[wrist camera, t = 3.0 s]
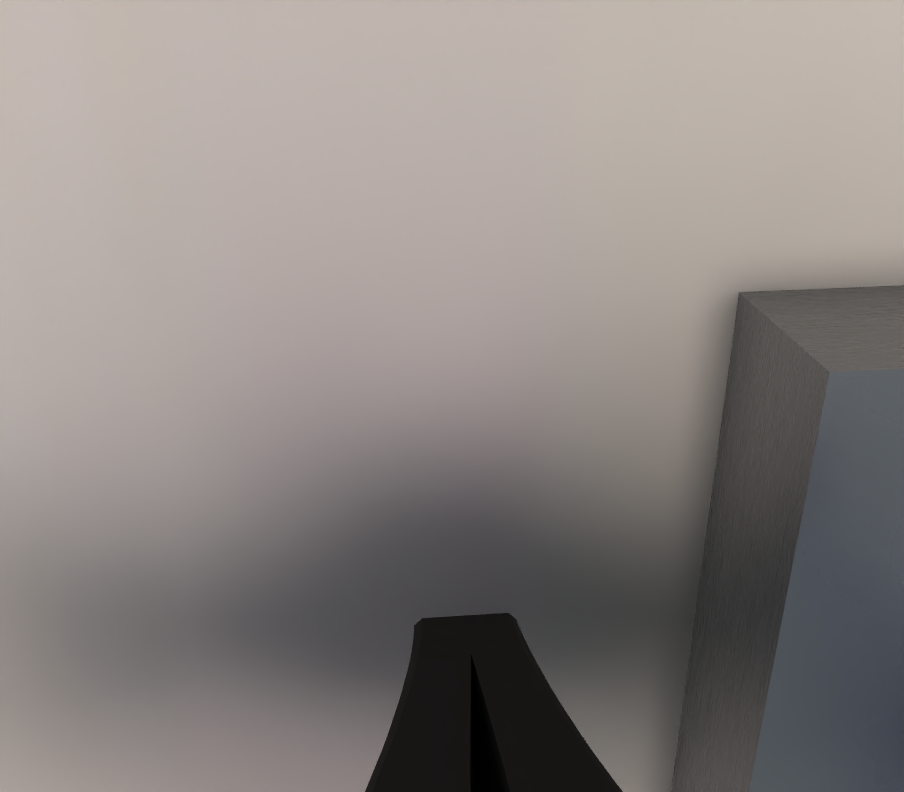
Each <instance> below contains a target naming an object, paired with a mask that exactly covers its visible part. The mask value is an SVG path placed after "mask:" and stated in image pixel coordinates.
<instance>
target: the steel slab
mask: <svg viewBox="0 0 904 792" xmlns="http://www.w3.org/2000/svg"><path fill="white" fill-rule="evenodd" d="M671 792H904V286H880V287H856V288H832V289H808V290H783V291H759V292H739V298H738V306H737V313H736V320H735V328H734V335H733V342H732V350H731V357H730V364H729V372H728V379H727V386H726V394H725V401H724V408H723V416H722V423H721V430H720V438H719V445H718V452H717V460H716V467H715V474H714V482H713V489H712V496H711V504H710V511H709V518H708V526H707V533H706V540H705V548H704V555H703V562H702V570H701V577H700V584H699V592H698V599H697V606H696V614H695V621H694V628H693V636H692V643H691V650H690V658H689V665H688V672H687V680H686V687H685V694H684V702H683V709H682V716H681V724H680V731H679V738H678V746H677V753H676V760H675V768H674V775H673V782H672V790H671Z"/></svg>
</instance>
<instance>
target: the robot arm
mask: <svg viewBox="0 0 904 792" xmlns="http://www.w3.org/2000/svg"><path fill="white" fill-rule="evenodd" d="M365 792H622V790H621V789H620V788H619V786H618V785H617V784H616V783H615V781H614V780H613V779H612V777H611V776H610V774H609V773H608V772H607V770H606V769H605V768H604V766H603V765H602V764H601V762H600V761H599V760H598V758H597V757H596V756H595V754H594V753H593V751H592V750H591V749H590V747H589V746H588V744H587V743H586V741H585V740H584V738H583V737H582V736H581V734H580V733H579V731H578V730H577V728H576V726H575V725H574V723H573V722H572V720H571V719H570V717H569V716H568V714H567V713H566V711H565V710H564V708H563V707H562V705H561V703H560V702H559V700H558V699H557V697H556V695H555V694H554V692H553V691H552V689H551V687H550V686H549V684H548V682H547V680H546V679H545V677H544V675H543V673H542V672H541V670H540V668H539V666H538V664H537V663H536V661H535V659H534V657H533V655H532V653H531V651H530V649H529V647H528V645H527V643H526V641H525V639H524V637H523V635H522V633H521V630H520V628H519V626H518V623H517V620H516V619H515V618H514V617H513V616H512V615H510V614H509V613H500V614H484V615H468V616H452V617H436V618H422V619H421V620H420V621H419V622H418V623H416V624H415V625H414V640H413V646H412V653H411V658H410V663H409V667H408V671H407V675H406V679H405V682H404V686H403V690H402V693H401V697H400V700H399V703H398V706H397V709H396V712H395V715H394V718H393V721H392V724H391V727H390V730H389V733H388V736H387V739H386V741H385V744H384V747H383V749H382V752H381V754H380V757H379V759H378V761H377V764H376V766H375V769H374V771H373V774H372V776H371V779H370V781H369V783H368V786H367V788H366V791H365Z"/></svg>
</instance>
